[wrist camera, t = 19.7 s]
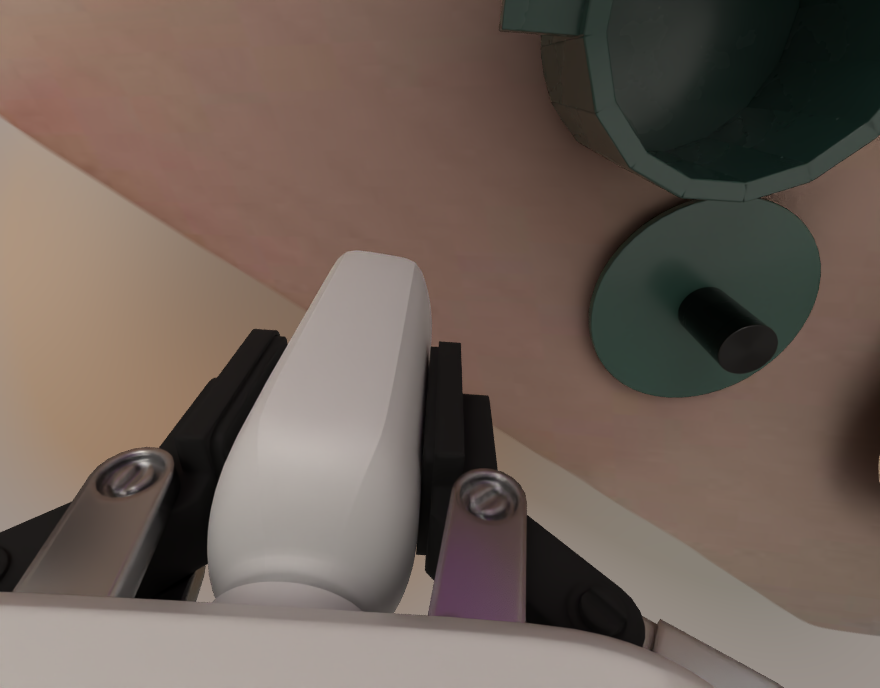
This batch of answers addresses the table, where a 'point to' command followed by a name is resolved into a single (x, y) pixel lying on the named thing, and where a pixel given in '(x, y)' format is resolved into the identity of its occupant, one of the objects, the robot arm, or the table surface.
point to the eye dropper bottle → (332, 452)
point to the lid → (704, 296)
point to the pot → (712, 86)
